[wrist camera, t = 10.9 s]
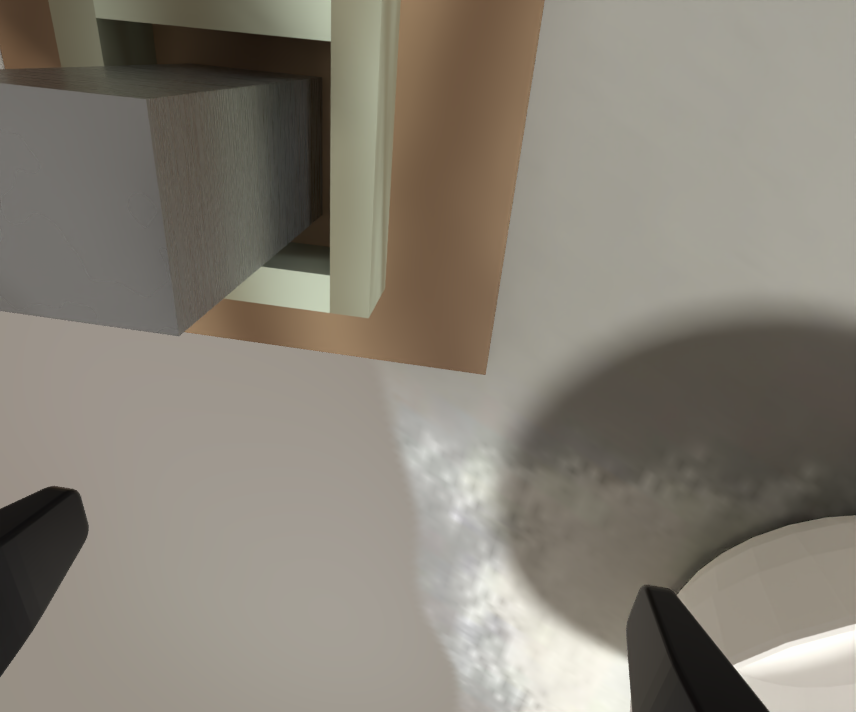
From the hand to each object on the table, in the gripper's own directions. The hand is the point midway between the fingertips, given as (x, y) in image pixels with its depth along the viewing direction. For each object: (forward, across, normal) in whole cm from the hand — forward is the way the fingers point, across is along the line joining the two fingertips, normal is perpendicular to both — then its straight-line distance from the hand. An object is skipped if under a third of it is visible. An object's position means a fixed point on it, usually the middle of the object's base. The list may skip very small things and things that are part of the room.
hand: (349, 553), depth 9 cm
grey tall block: (+12, +6, -4) cm, 14 cm away
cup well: (+12, +6, -4) cm, 14 cm away
